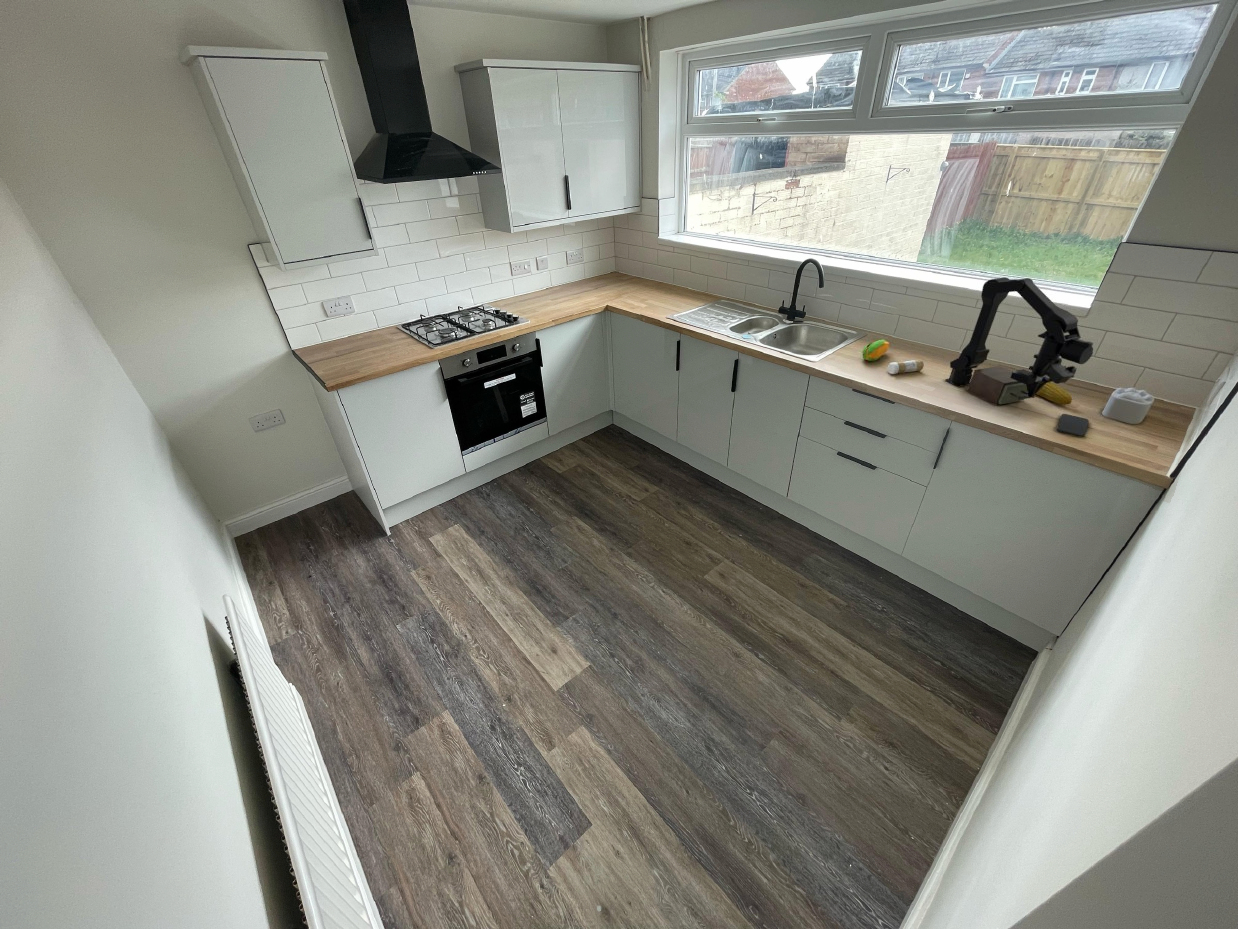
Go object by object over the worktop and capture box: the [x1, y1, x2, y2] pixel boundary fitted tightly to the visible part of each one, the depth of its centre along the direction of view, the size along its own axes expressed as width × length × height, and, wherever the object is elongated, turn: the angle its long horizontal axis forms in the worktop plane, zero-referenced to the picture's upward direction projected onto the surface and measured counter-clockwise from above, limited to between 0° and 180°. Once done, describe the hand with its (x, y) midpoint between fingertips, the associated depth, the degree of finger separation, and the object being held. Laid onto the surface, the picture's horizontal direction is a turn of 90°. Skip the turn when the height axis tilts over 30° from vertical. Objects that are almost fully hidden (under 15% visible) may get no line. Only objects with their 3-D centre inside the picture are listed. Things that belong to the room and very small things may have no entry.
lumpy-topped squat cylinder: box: [1101, 386, 1155, 425], centre depth 178 cm, size 10×13×9 cm
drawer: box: [998, 382, 1036, 405], centre depth 189 cm, size 16×10×7 cm, turn 16°
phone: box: [1056, 413, 1090, 438], centre depth 174 cm, size 7×1×15 cm
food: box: [1035, 382, 1073, 406], centre depth 192 cm, size 21×6×6 cm, turn 13°
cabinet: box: [966, 365, 1019, 406], centre depth 192 cm, size 13×12×9 cm
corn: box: [861, 339, 890, 362], centre depth 227 cm, size 7×8×20 cm
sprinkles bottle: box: [887, 359, 925, 375], centre depth 214 cm, size 5×5×14 cm
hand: (1030, 396), depth 182 cm, fingers closed
